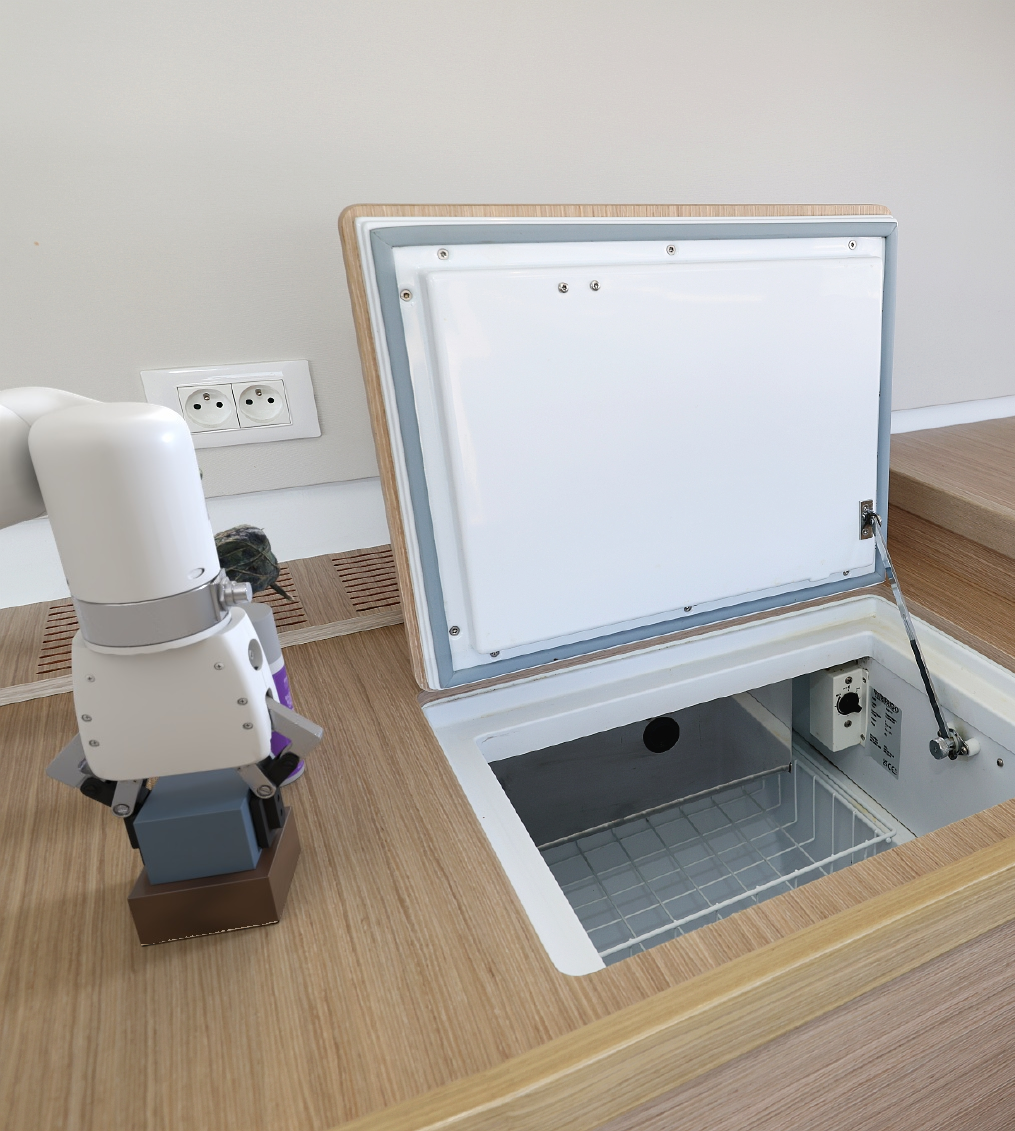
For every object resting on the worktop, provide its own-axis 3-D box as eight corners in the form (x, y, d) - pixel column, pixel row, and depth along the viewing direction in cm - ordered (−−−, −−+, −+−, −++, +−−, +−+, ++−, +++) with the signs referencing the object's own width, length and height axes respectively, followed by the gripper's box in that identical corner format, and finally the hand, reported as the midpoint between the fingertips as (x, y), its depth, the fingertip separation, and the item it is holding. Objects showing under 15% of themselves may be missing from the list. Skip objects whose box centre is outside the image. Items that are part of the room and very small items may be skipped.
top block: (178, 829, 67) (162, 769, 65) (274, 815, 69) (261, 757, 67) (150, 885, 61) (132, 823, 60) (255, 869, 63) (241, 808, 61)
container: (316, 770, 80) (286, 611, 75) (261, 797, 77) (224, 632, 71) (284, 752, 83) (252, 596, 77) (229, 778, 79) (190, 616, 73)
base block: (141, 947, 62) (126, 899, 60) (178, 867, 69) (165, 822, 67) (279, 923, 64) (268, 876, 63) (301, 848, 71) (292, 805, 70)
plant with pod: (297, 637, 102) (264, 459, 95) (171, 656, 97) (126, 469, 90) (297, 608, 109) (266, 439, 101) (180, 624, 104) (138, 448, 96)
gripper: (322, 572, 64) (360, 793, 71) (11, 594, 59) (85, 830, 65) (301, 619, 57) (345, 857, 64) (-51, 648, 52) (39, 905, 59)
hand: (214, 841), depth 65 cm, fingers closed on top block, 6 cm apart
